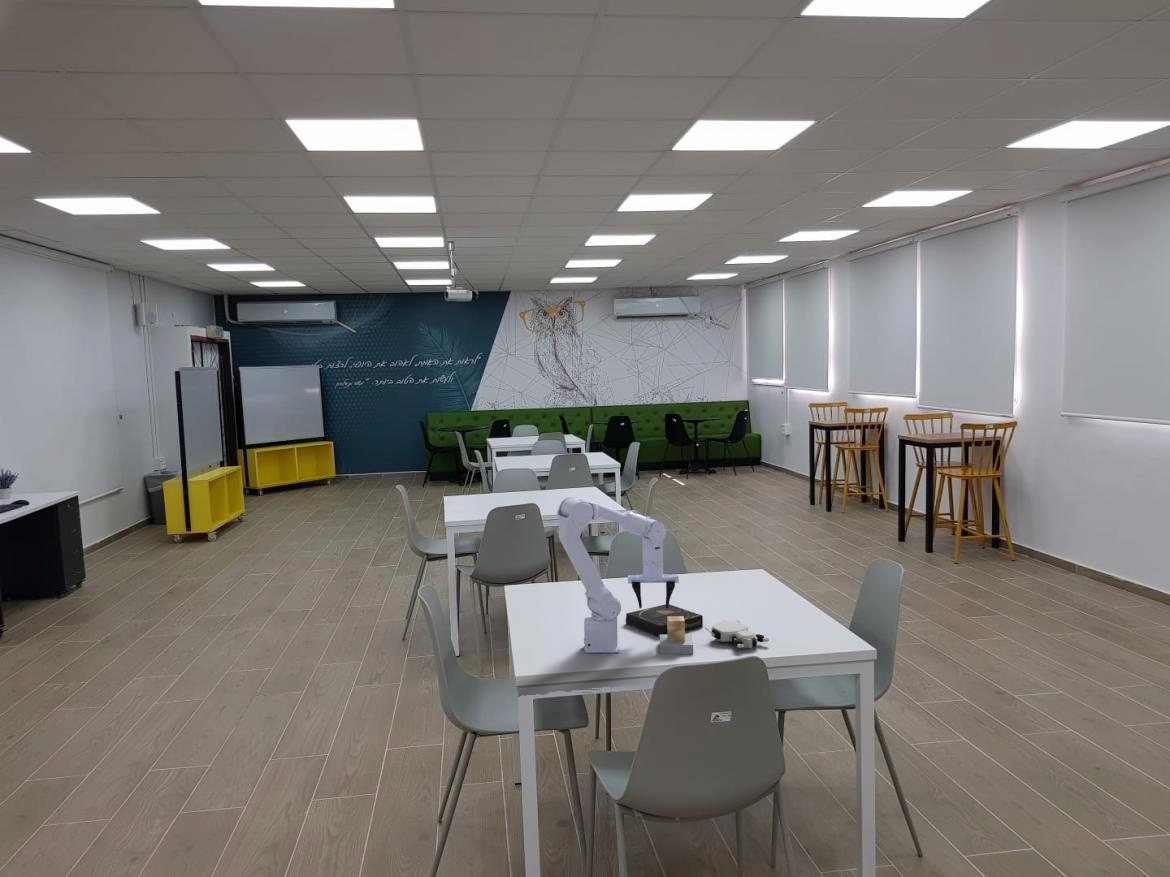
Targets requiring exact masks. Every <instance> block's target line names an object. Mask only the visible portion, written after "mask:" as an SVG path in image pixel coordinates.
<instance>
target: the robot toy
mask: <svg viewBox="0 0 1170 877" xmlns="http://www.w3.org/2000/svg"><path fill="white" fill-rule="evenodd" d="M704 629H705V630H707V631H708V632H709V633H710V634H711V636H712V637H713V638H714V639H716V640H717V641H718V642H720V643H726V642H729V643H730V642H734V646H735V647H736V648H737V649H753V648H754V647H758V642H759V643H764V642H765V643H768V642H769V641H770V638H768V637H765V635H763V634H760V633H759V634H758V633H757V634H755V633H754V632H752V631H749V627H748V626H747V625H746V624H744V623H743V622H741V621H740V620H739V619H737V620H735V621H734V620H731V621H730V620H729V621H722V622H719V623H716V624H714V625H713V626H712V627H711V629H709V628H708V627H707V626H706V627H705V628H704Z"/></svg>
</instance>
